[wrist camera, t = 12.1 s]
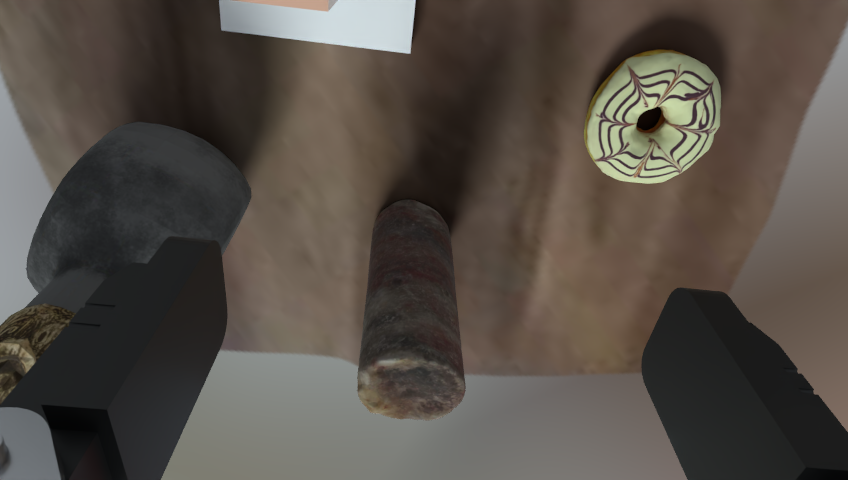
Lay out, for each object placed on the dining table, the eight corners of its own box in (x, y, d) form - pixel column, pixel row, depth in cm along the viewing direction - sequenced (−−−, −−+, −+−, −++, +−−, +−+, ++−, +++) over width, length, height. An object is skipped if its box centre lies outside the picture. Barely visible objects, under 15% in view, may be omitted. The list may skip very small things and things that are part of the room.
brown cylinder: (467, 223, 51) (488, 385, 34) (425, 275, 54) (425, 447, 37) (398, 184, 49) (384, 337, 32) (359, 241, 52) (327, 407, 35)
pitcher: (288, 142, 46) (124, 435, 21) (202, 285, 55) (12, 617, 30) (166, 69, 43) (-201, 314, 18) (95, 234, 52) (-222, 558, 26)
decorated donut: (730, 56, 43) (755, 69, 40) (676, 176, 48) (694, 196, 45) (604, 36, 42) (619, 47, 39) (564, 161, 48) (575, 180, 44)
